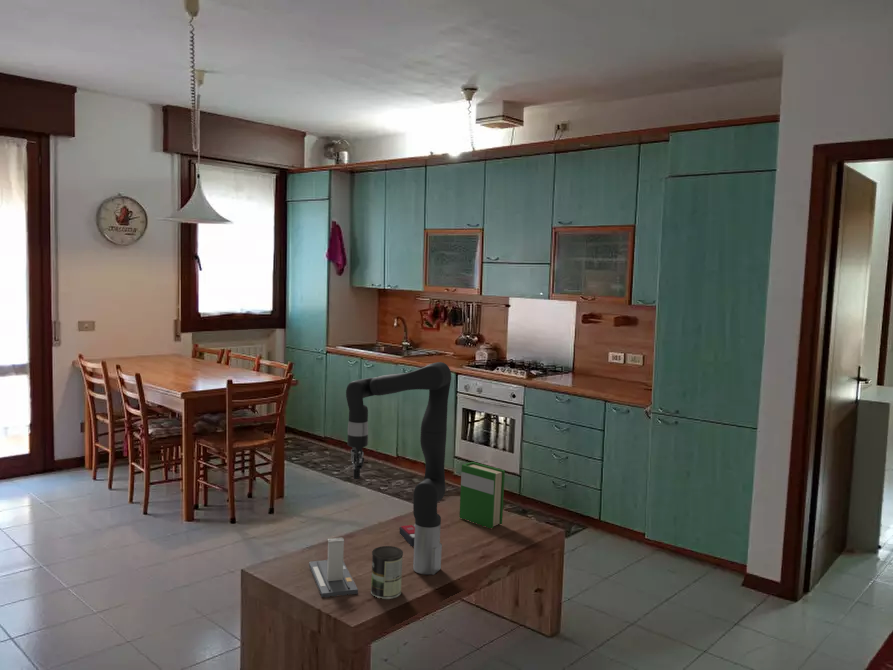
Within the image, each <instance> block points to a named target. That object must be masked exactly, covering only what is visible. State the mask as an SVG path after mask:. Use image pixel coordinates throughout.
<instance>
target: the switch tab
mask: <svg viewBox="0 0 893 670" xmlns="http://www.w3.org/2000/svg"><path fill="white" fill-rule="evenodd" d="M344 546H345V540H344V537H336V538H327V560H328V561H327V580H328V581H336V580H343V561H344Z"/></svg>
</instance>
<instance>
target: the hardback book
mask: <svg viewBox="0 0 893 670" xmlns="http://www.w3.org/2000/svg"><path fill="white" fill-rule="evenodd" d="M505 472H506V470H504V469H500V468H497V467H494V466H489V465H486V464H482V463H478V462H474V461H471V462H466V463H464V464H461V475H460V476H461V477H460V495H459V497H460V498H459V517H460V518H462V519H466V520H469V521H471V522H474V523H477V524H480V525H482V526H481V527H483V526H486V527H488V528H493V529H494V527H495V526H499V525H498V524H502V525H503V513H504V512H503V511H504V493H505V477H506V476H505V475H506V473H505ZM462 519H461V520H462ZM471 522H470V523H471ZM474 523H473V524H474ZM477 524H476V525H477ZM480 525H479V526H480ZM488 528H487V529H488Z"/></svg>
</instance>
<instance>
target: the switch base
mask: <svg viewBox="0 0 893 670" xmlns="http://www.w3.org/2000/svg"><path fill="white" fill-rule="evenodd" d="M327 561H328V559H324V560H315V561H314V560H312V561H309V562H308V567H309V569H310V572H311V574H312V576H313V579H314V582H315V583H316V587H317V589H319V590H318V592H319V591H320V592H319V595H320V594H321V595H320V597H321V598H322V597H325V598H330V596H334V597H338V596H337V595H342V596H349V595H350V594H351V595H358V593H359V589H358V587H357V585H356V582H355V581H354V579H353V577H352V574H351V572H350V571H349V569H348V568H347V566H346V563H345V561H344V560H343V580H336V581H328V580H327ZM347 594H348V595H347Z"/></svg>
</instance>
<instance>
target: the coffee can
mask: <svg viewBox="0 0 893 670" xmlns="http://www.w3.org/2000/svg"><path fill="white" fill-rule="evenodd" d="M403 555H404V550H402V549H401V548H399V547H396V546H392V545H391V546H390V545H383V546H382V545H381V546H378V547H375V548H374V549H372V551H371V557H372V560H371V584H370V585H371V586H370V587H371V589H370V594H371V595H372V596H373V597H374V596H375V597H374V598H376V597H377V599H380V598H382V599H381V600H390V599H391V600H392V599H396V598H398V597H400V596H401V594H402V573H403Z"/></svg>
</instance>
